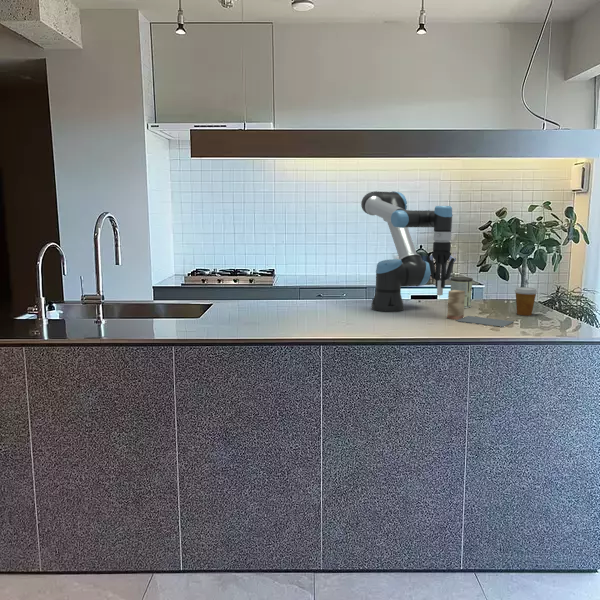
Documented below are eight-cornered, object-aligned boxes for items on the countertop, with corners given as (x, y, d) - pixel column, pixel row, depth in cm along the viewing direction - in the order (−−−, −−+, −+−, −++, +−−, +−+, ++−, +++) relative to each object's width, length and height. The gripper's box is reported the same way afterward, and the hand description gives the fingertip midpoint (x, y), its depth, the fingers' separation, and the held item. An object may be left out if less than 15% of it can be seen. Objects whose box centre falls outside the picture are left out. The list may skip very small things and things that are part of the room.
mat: (455, 321, 239) (455, 320, 239) (467, 316, 250) (467, 315, 250) (503, 327, 227) (503, 326, 227) (513, 322, 238) (514, 321, 238)
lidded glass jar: (447, 304, 282) (449, 276, 280) (468, 305, 281) (470, 277, 279) (451, 308, 272) (452, 279, 270) (473, 308, 271) (474, 279, 269)
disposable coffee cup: (535, 313, 259) (537, 287, 257) (534, 317, 250) (536, 290, 248) (513, 311, 263) (515, 286, 261) (512, 315, 254) (514, 289, 252)
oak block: (447, 318, 245) (448, 291, 243) (452, 316, 250) (453, 289, 248) (458, 319, 242) (459, 292, 240) (463, 317, 247) (464, 290, 245)
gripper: (424, 241, 246) (422, 294, 250) (452, 242, 239) (450, 297, 242) (431, 240, 252) (429, 292, 256) (459, 241, 244) (457, 295, 248)
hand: (439, 294), depth 249 cm, fingers closed
